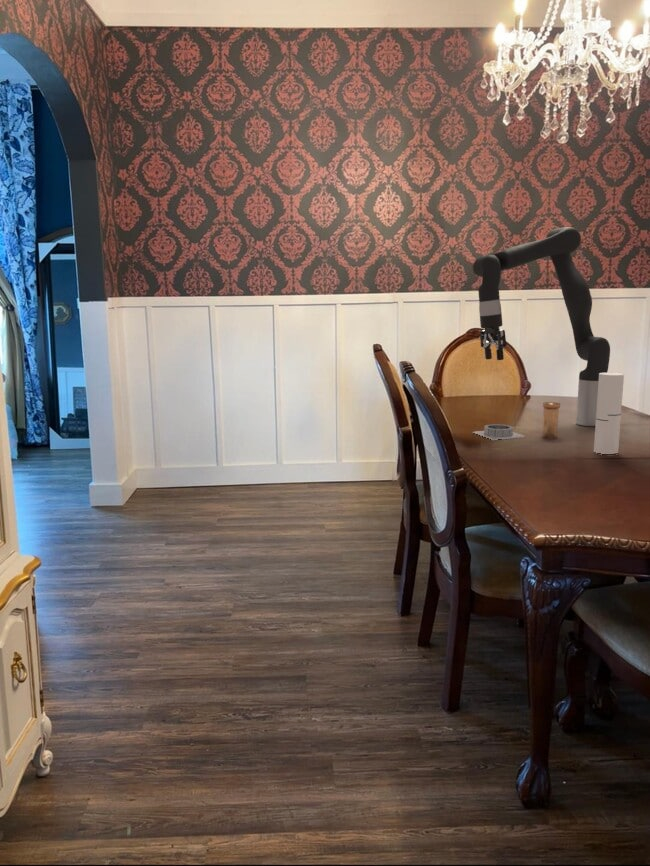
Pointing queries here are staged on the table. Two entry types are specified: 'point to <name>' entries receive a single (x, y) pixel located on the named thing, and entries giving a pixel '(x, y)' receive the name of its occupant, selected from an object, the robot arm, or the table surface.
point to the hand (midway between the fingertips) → (494, 359)
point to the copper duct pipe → (550, 419)
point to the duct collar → (498, 432)
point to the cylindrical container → (608, 413)
